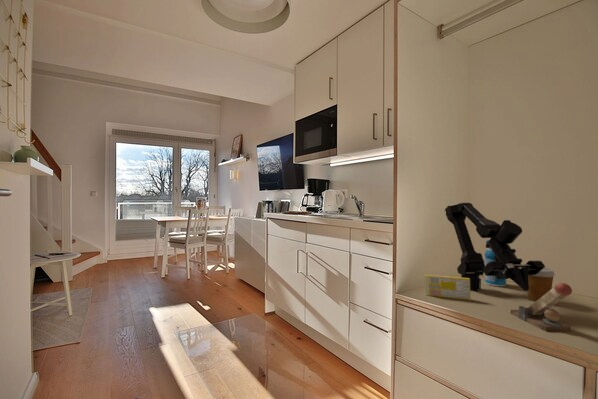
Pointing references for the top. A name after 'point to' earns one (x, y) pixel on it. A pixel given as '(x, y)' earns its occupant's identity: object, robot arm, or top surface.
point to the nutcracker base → (542, 319)
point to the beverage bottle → (492, 279)
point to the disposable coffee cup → (540, 284)
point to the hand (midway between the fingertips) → (527, 290)
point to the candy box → (447, 287)
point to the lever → (550, 299)
